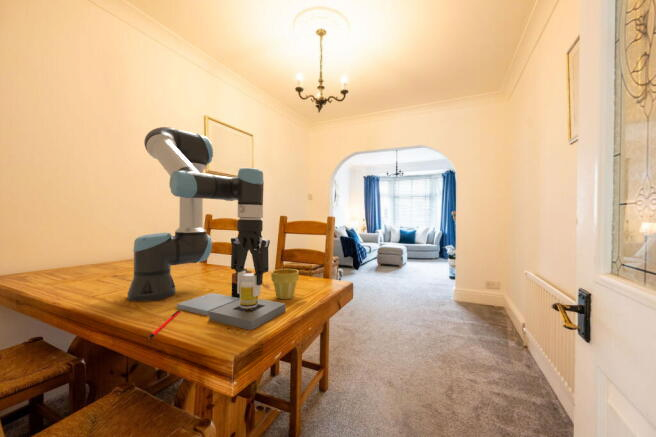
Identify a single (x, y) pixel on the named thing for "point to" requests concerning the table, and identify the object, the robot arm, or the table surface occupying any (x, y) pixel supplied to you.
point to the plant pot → (285, 282)
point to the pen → (164, 324)
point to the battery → (234, 284)
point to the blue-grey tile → (206, 303)
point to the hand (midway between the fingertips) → (248, 293)
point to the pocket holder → (247, 314)
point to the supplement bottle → (247, 292)
